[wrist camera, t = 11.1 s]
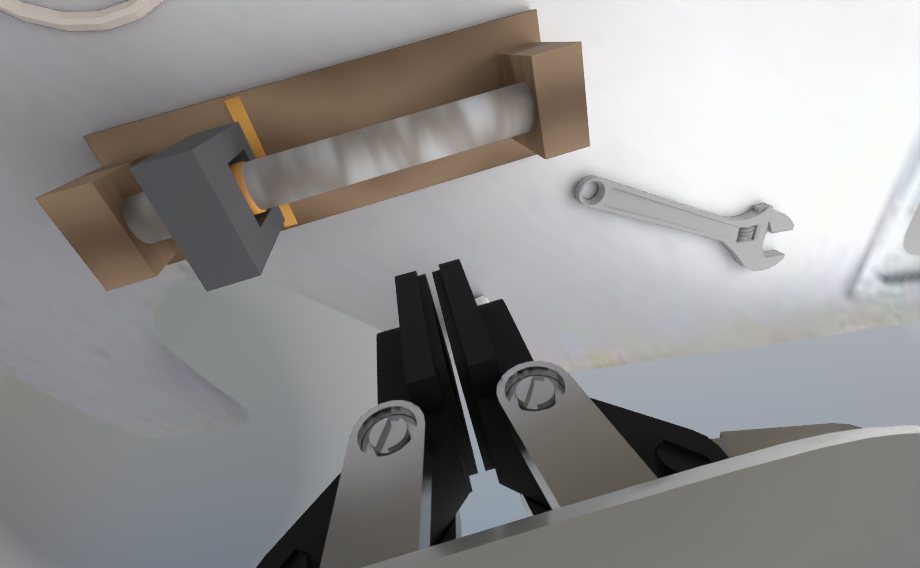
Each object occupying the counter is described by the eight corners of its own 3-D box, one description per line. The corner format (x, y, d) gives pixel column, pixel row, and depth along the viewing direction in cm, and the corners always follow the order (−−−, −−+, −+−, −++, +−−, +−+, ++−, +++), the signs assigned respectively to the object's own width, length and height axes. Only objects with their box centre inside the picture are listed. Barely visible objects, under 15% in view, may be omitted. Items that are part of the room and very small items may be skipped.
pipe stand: (91, 133, 30) (-3, 164, 22) (531, 10, 32) (586, -2, 24) (172, 259, 35) (119, 319, 27) (549, 146, 37) (599, 173, 29)
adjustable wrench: (566, 198, 40) (574, 204, 39) (600, 129, 38) (610, 133, 36) (756, 269, 48) (769, 277, 47) (794, 216, 46) (809, 222, 44)
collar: (192, 134, 28) (128, 168, 21) (238, 121, 28) (191, 149, 21) (244, 231, 32) (206, 291, 24) (285, 219, 32) (260, 275, 24)
